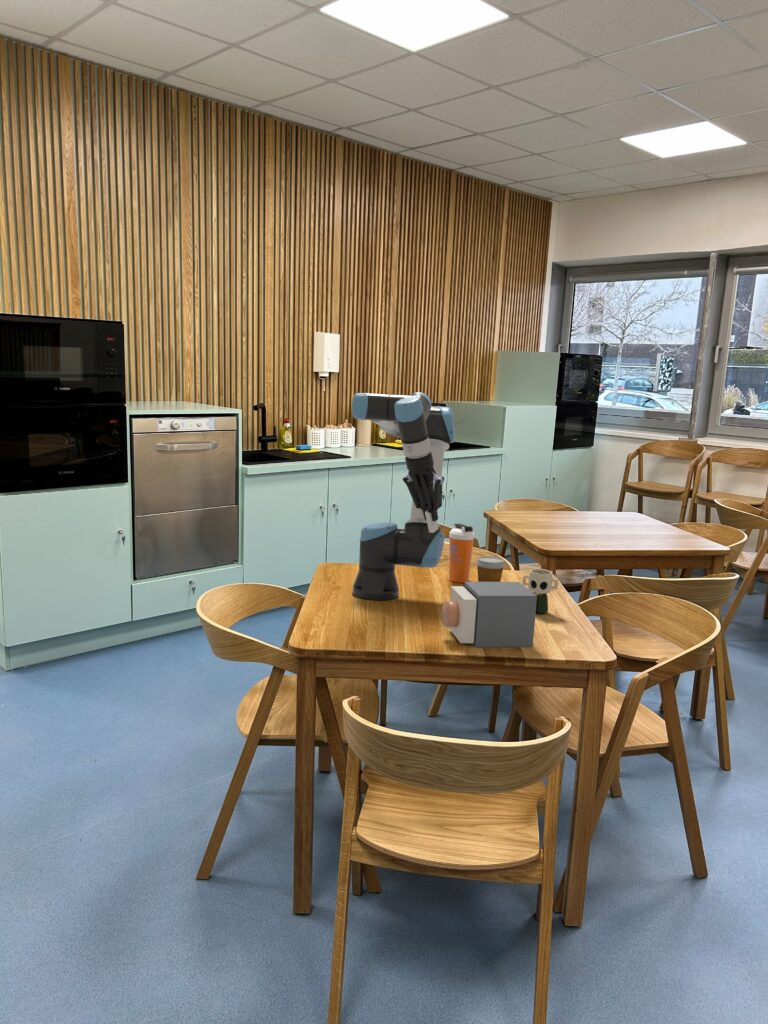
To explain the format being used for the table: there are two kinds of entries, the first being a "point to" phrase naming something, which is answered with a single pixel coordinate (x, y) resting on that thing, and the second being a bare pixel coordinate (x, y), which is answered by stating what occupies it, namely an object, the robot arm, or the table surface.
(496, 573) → the disposable coffee cup
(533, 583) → the character mug
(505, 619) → the block
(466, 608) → the white drawer
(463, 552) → the shaker bottle
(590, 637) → the table surface
